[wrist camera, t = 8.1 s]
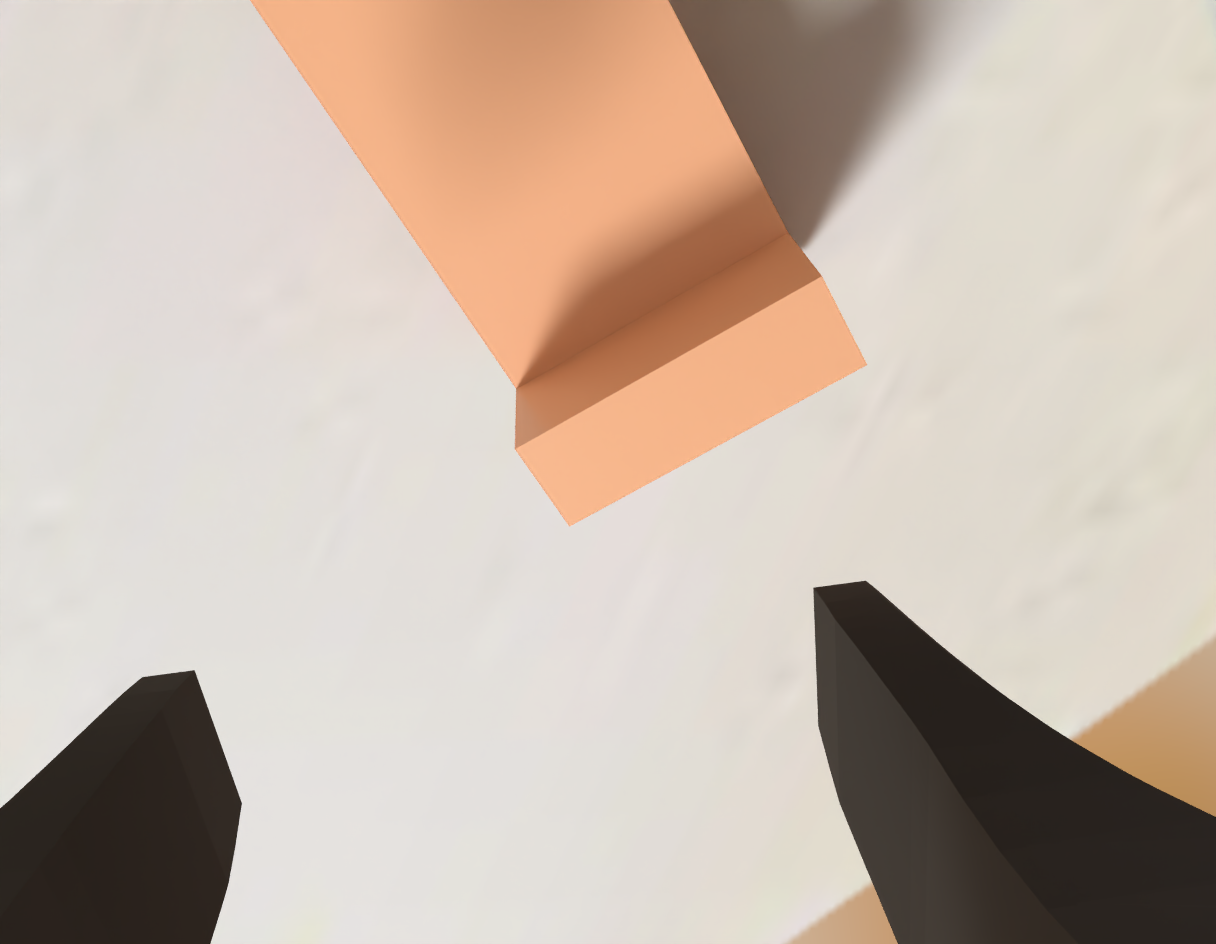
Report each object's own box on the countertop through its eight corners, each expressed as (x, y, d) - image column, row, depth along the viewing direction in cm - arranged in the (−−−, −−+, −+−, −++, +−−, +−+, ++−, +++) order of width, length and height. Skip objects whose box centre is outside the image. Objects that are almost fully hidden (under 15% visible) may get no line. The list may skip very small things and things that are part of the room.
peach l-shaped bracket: (800, 273, 21) (867, 364, 17) (561, 408, 22) (569, 526, 18) (356, -582, 15) (293, -761, 11) (56, -347, 16) (-106, -430, 12)
